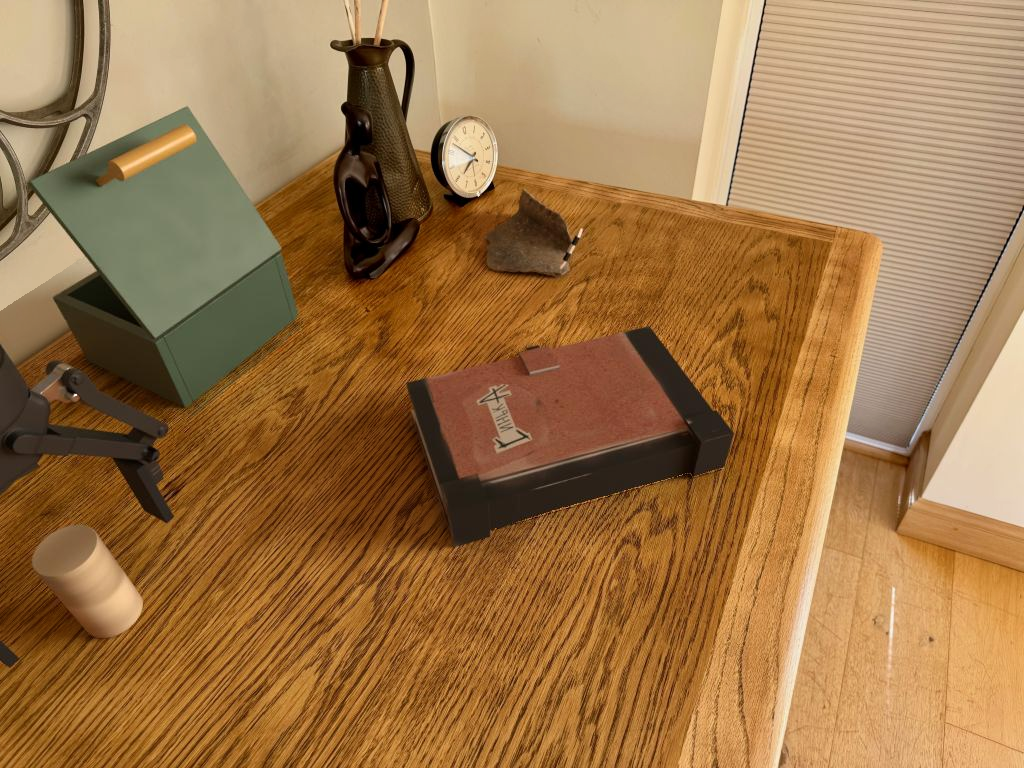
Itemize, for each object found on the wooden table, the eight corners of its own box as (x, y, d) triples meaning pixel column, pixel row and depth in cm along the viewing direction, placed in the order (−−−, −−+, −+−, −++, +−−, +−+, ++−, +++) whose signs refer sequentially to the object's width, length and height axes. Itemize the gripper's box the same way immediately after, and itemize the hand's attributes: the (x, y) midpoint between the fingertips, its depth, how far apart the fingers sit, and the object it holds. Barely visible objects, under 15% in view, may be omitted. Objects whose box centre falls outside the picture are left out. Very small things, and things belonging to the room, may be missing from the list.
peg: (72, 622, 58) (17, 560, 51) (118, 580, 60) (71, 515, 54) (109, 648, 56) (57, 586, 50) (155, 603, 59) (110, 539, 53)
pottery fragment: (478, 264, 103) (457, 238, 99) (537, 209, 103) (517, 182, 99) (536, 317, 90) (514, 291, 87) (603, 255, 90) (584, 225, 86)
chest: (93, 370, 80) (51, 297, 73) (209, 289, 90) (183, 218, 83) (189, 417, 74) (155, 343, 67) (301, 325, 85) (281, 252, 78)
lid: (26, 183, 60) (50, 163, 56) (184, 108, 71) (213, 87, 67) (151, 339, 67) (181, 332, 63) (278, 250, 78) (310, 238, 74)
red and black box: (641, 354, 80) (646, 318, 77) (723, 469, 68) (734, 433, 64) (409, 410, 74) (404, 374, 71) (454, 547, 62) (449, 512, 59)
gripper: (-321, 570, 31) (-46, 758, 45) (152, 272, 46) (243, 482, 61) (-393, 502, 33) (-112, 700, 48) (76, 243, 49) (181, 451, 64)
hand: (87, 578), depth 54 cm, fingers open, 13 cm apart
